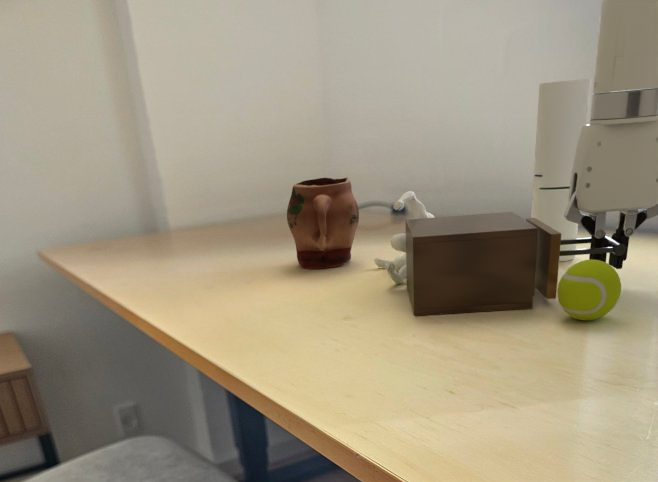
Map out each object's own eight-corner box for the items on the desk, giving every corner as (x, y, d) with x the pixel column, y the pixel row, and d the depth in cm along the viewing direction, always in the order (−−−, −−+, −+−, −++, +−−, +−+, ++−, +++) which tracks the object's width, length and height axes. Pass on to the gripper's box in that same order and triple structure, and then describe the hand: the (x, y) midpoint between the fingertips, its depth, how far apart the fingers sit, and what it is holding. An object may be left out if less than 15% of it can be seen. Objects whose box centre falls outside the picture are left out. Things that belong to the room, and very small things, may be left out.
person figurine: (380, 196, 107) (397, 185, 90) (456, 208, 108) (487, 199, 91) (368, 278, 111) (381, 282, 94) (441, 288, 112) (468, 294, 95)
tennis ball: (551, 326, 74) (555, 266, 71) (559, 310, 80) (564, 253, 77) (614, 329, 72) (623, 267, 69) (619, 312, 77) (626, 254, 74)
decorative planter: (369, 273, 106) (365, 181, 100) (295, 281, 106) (286, 188, 99) (353, 252, 124) (348, 172, 118) (289, 258, 123) (281, 178, 117)
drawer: (594, 271, 92) (600, 212, 89) (628, 294, 80) (637, 228, 77) (435, 281, 94) (435, 224, 91) (445, 305, 82) (446, 241, 79)
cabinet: (508, 281, 94) (512, 211, 90) (532, 308, 81) (538, 228, 77) (406, 288, 95) (405, 219, 91) (413, 316, 82) (412, 237, 78)
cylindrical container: (556, 251, 110) (570, 81, 99) (584, 257, 104) (602, 77, 93) (519, 256, 109) (529, 85, 97) (546, 263, 102) (559, 81, 91)
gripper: (680, 103, 80) (657, 257, 88) (549, 114, 81) (538, 265, 89) (709, 102, 73) (681, 269, 81) (565, 114, 74) (552, 278, 83)
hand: (606, 266), depth 85 cm, fingers closed
